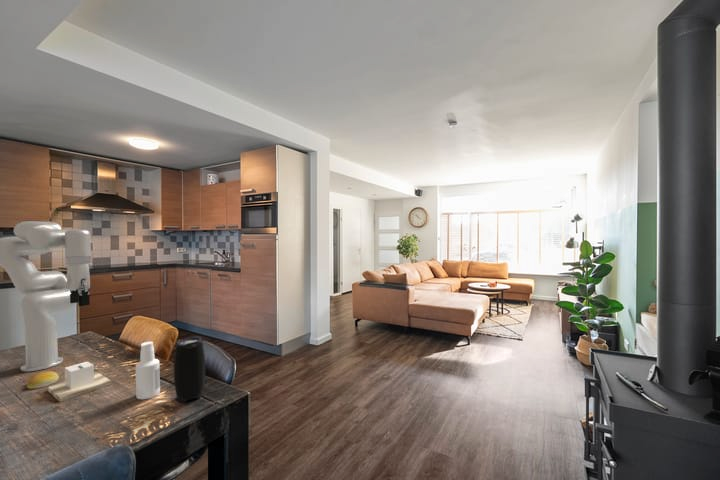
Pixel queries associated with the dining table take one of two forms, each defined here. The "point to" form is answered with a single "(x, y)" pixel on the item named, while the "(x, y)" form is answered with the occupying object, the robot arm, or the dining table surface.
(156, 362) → the white plastic bottle
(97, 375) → the beige square plate
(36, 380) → the bread roll
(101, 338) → the dining table surface
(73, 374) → the white slotted cube
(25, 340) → the robot arm
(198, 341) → the portable speaker
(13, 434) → the dining table surface
